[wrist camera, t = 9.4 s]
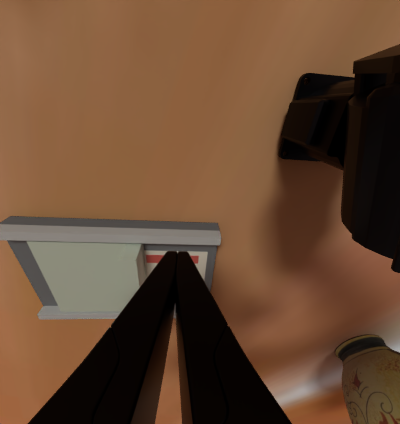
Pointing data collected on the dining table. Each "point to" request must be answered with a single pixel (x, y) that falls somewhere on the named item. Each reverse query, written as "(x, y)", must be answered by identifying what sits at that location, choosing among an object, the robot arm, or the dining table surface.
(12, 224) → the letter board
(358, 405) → the amphora
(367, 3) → the dining table surface
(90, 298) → the sage shutter
